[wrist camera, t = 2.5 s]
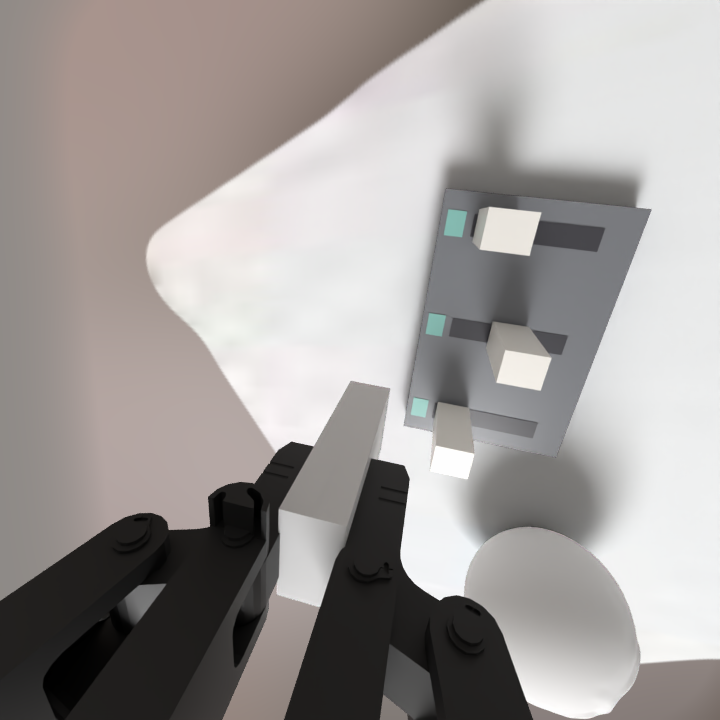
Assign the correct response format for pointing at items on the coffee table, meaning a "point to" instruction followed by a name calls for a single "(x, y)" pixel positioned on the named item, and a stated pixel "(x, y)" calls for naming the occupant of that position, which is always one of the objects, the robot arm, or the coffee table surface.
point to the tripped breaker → (517, 356)
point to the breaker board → (519, 314)
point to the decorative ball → (557, 620)
